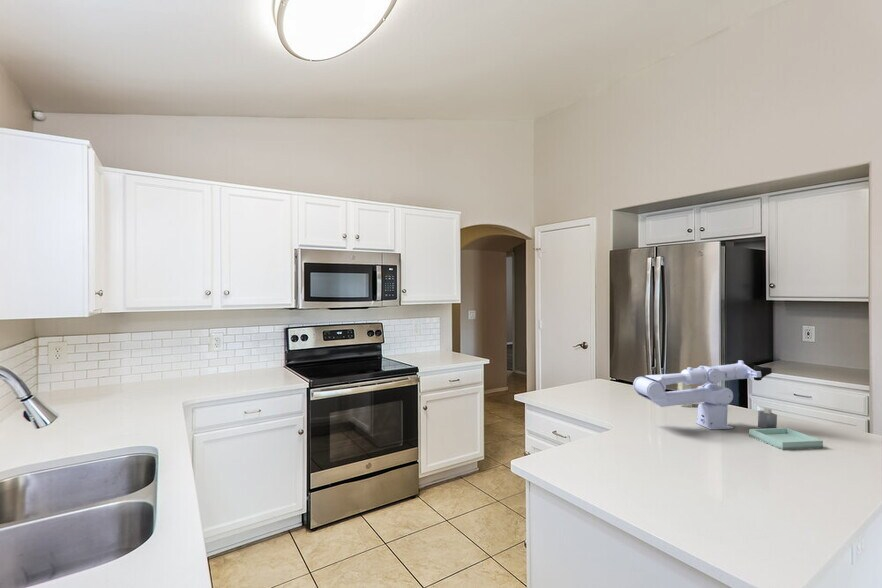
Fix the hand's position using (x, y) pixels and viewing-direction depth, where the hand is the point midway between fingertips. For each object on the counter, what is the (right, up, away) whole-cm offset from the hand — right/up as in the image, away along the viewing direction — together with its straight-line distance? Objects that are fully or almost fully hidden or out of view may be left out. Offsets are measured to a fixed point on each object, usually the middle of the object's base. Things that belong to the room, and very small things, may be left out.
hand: (762, 368), depth 168 cm
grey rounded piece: (-2, -22, -5) cm, 22 cm away
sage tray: (-6, -22, -18) cm, 29 cm away
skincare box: (-15, -21, +27) cm, 37 cm away
